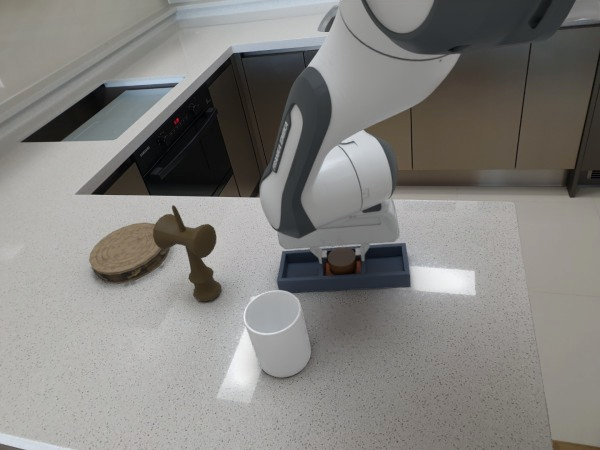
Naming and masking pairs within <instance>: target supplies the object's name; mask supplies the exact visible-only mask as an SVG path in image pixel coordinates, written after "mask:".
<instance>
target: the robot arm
mask: <svg viewBox="0 0 600 450" xmlns="http://www.w3.org/2000/svg"><path fill="white" fill-rule="evenodd" d="M582 19H586V20H587V19H589V20H594V21H599V22H600V0H339V4H338V7H337V10H336V14H335V17H334V20H333V22H332V25H331V27H330V29H329V31H328V33H327V34H326V37H325V39H324V40H323V42H322V44H321V45H320V48H319V49H318V51H317V52H316V53H315V55H314V57H313V58H312V59H311V61H310V62H309V63H308V65H307V67H305V68H304V69H303V70H302V71H301V73H300V74H299V75H298V76H297V78H296V79H295V80H294V81H293V84H292V86H291V88H290V90H289V93H288V96H287V100H286V103H285V106H284V110H283V114H282V117H281V121H280V124H279V127H278V132H277V135H276V139H275V142H274V147H273V150H272V154H271V158H270V162H269V163H268V165H267V166H266V168H265V169H264V172H263V174H262V175H261V178H260V181H259V183H258V184H259V185H258V188H259V189H258V191H259V201H260V205H261V210H262V212H263V214H264V216H265V218H266V220H267V222H268V223H269V225H270V227H271V228H272V229H273V230H274V231H276V232H277V240H278V244H279V247H281V248H283V249H284V250H298V249H310V251H311V252H312V253H313V254H314V255H315V256H317V257H318V259H319V264H326V263H328V255H327V250H324V251H322V249H321V248H327V247H341V246H353V245H354V246H356V245H360V246H361V247H360V248H355V255H356V261H365V257H364V254H365V253H366V252H367V250H368V249H369V247H370V245H371V244H382V243H384V244H385V243H395V242H397V240H398V239H399V238H400V237H401V234H400V224H399V219H398V213H397V209H396V204H395V201H394V199H393V198H392V196H393V194H394V192H395V191H396V188H397V185H398V184H397V183H398V178H399V166H398V161H397V155H396V153H395V150H394V148H393V147H392V145H391V144H389V143H388V142H387V141H385V140H384V139H382V138H381V137H379V136H377V135H375V134H373V133H370V132H368V131H366V130H365V129H368V128H370V127H372V126H374V125H376V124H378V123H381V122H383V121H386V120H388V119H390V118H392V117H394V116H397V115H398V114H401V113H403V112H405V111H407V110H409V109H411V108H413V107H414V106H417V105H418V104H421V103H422V102H423V101H424V100H426V99H427V98H428V97H430V95H431V94H433V92H435V91H436V89H437V88H438V87H439V86H441V85H440V84H441V83H442V82H443V81H444V80H445V79H446V78H447V76H448V75H449V74H450V73H451V71H452V70H453V68H454V67H455V66H456V63H457V62H458V61H459V58H460V57H461V55H462V54H469V53H478V52H484V51H489V50H493V49H498V48H499V49H500V48H505V47H511V46H519V45H526V44H527V45H528V44H535V43H541V42H545V41H547V40H549V39H551V38H552V37H553V36H555V34H556V33H557V32H558V31H559V30H560V28H561V27H562V25H563V24H564V23H568V22H575V21H578V20H582Z"/></svg>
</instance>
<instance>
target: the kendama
mask: <svg viewBox="0 0 600 450" xmlns="http://www.w3.org/2000/svg"><path fill="white" fill-rule="evenodd" d="M171 210H172V213H166V214H164V215H162V216H161V217H159V219H158V220H157V221H156V222H155V223H154V224H155V226H154V228H153V238H154V242H155V243H156V245H157V246H158V247H159V248H161V249H168V248H169V249H170V248H172V247H174V246H176V245H179V246H183V247H185V251H186V254H187V258H188V263H189V268H190V272H189V274H188V281H189V282H190V283H191V284H193V286H194V289H193V294H192V295H193V297H194V298H195V299H196V300H197V301H201V302H210V301H211V300H214V299H215V298H217V296H219V295H220V293H221V291H222V285H221V283H220V282H219V281H217V280H215V279H214V272H215V271H214V270H213V268H211V267H209V266H207V264H206V263H205V262H204V261H203V259H204V258H207V257H208V256H209V255H211V253H212V252H213V251H214V249H215V247H216V245H217V231H216V230H215V228H214V226H212V225H211V224H209V223H205V224H204V223H203V224H201V225H198V226H196V227H189V226H185V224H184V221H183V219H182V216H181V214H180V213H179V210H178V208H177V206H176V205H174V204H172V206H171Z"/></svg>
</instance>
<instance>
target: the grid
mask: <svg viewBox="0 0 600 450" xmlns="http://www.w3.org/2000/svg"><path fill="white" fill-rule="evenodd" d="M369 245H370V247H369V249H368V250H367V252H366V253H365V254H364V257H365V261H357V269H356V271H355V272H354V273H353V274H348V275H333V274H332V273H331V272H330V270H329V265H328V263H326V264H319V259H318V257H317V256H315V255H314V254H313V253H312V252H311V251H310V248H305V249H291V250H282V251H281V256H280V262H279V266H278V273H277V278H276V284H277V288H278V290H283V291H287V292H290V293H292V294H297V293H299V294H300V293H313V292H314V293H315V292H335V291H336V292H337V291H354V290H371V289H374V290H375V289H393V288H410V287H411V271H410V264H409V257H408V250H407V244H406V242H398V243H395V242H394V243H384V244H382V243H379V244H369ZM343 247H344V248H349V249H352V250H353V251H354V252H355V248H360V247H361V245H354V246H353V245H350V246H335V247H320V248H321V249H322V251H324V250H327V255H329V253H330V252H331V251H332V250H334V249H337V248H343Z"/></svg>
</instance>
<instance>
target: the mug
mask: <svg viewBox="0 0 600 450" xmlns="http://www.w3.org/2000/svg"><path fill="white" fill-rule="evenodd" d="M242 319H243V323H244V326H245V329H246V331H247V335H248V336H249V337H248V338H249V340H250V342H251V345H252V348H253V351H254V354H255V357H256V359H257V362H258V365H259V366H260V368H261V370H263V371H264V372H265V373H266V374H267V375H270V376H271V377H275V378H288V377H292V376H294V375H296V374H298V373H300V372H301V371H302V370H303V369H305V367H307V365H308V363H309V361H310V360H311V359H310V358H311V355H312V354H311V353H312V349H311V348H312V347H311V343H310V338H309V333H308V330H307V326H306V321H305V317H304V313H303V309H302V304H301V302H300V300H299V298H298V297H297V295H294V293H290V292H287V291H283V290H279V289H274V290H268V291H264V292H263V293H260V294H258V295H253V296H251V297H250V298H249V300H248V303H247V305H246V306H245V309H244V312H243V317H242Z"/></svg>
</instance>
